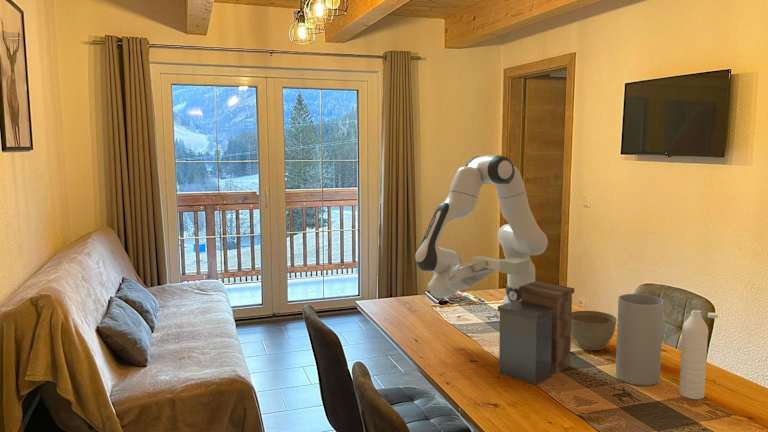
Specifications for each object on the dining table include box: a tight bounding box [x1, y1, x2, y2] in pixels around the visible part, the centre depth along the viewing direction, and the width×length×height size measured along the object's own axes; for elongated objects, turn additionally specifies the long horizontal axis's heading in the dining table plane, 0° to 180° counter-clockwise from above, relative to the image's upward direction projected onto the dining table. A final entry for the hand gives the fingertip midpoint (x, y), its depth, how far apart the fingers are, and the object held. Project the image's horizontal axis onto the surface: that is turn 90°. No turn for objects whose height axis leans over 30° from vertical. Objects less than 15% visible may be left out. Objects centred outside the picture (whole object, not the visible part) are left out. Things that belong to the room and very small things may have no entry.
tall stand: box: [519, 280, 575, 375], centre depth 188 cm, size 10×14×26 cm
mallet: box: [471, 254, 529, 275], centre depth 195 cm, size 8×19×4 cm, turn 44°
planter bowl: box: [571, 310, 618, 351], centre depth 204 cm, size 16×16×11 cm
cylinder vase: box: [615, 293, 664, 386], centre depth 176 cm, size 12×12×25 cm
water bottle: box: [678, 309, 719, 400], centre depth 163 cm, size 9×6×25 cm
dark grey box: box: [497, 300, 555, 386], centre depth 180 cm, size 10×14×22 cm
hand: (491, 261), depth 197 cm, fingers closed on mallet, 4 cm apart
